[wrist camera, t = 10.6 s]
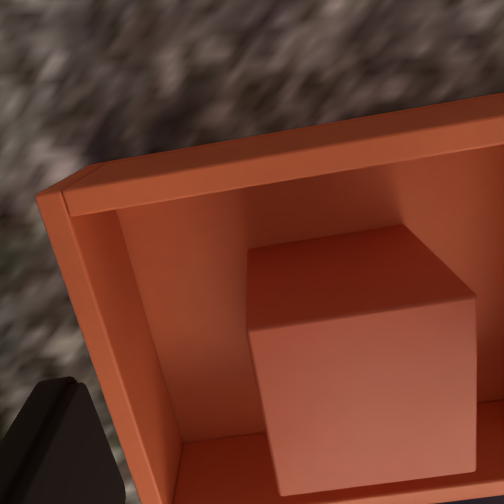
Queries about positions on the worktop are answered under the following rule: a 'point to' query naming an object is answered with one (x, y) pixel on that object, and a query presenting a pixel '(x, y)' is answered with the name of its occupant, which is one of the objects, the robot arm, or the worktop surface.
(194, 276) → the terracotta bin
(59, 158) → the worktop surface
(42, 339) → the worktop surface
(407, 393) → the terracotta block
